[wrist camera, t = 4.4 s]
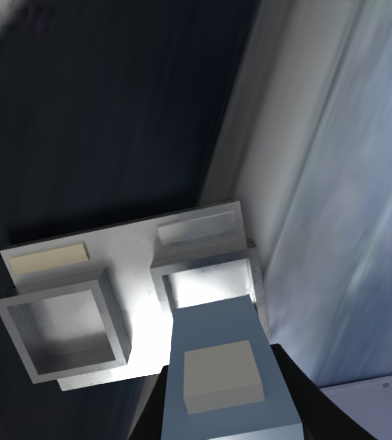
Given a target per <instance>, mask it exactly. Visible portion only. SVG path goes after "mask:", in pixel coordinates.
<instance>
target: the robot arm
mask: <svg viewBox="0 0 392 440" xmlns="http://www.w3.org/2000/svg"><path fill="white" fill-rule="evenodd" d="M270 347H271V349H272V351H273V354H274V356H275V359H276V361H277V364H278V366H279V368H280V371H281V373H282V376H283V378H284V381H285V383H286V385H287V388H288V390H289V393H290V395H291V398H292V400H293V402H294V405H295V407H296V410H297V412H298V414H299V417H300V419H301V422H302V427H303V435H304V440H392V375H391V376H386V377H381V378H375V379H370V380H364V381H359V382H354V383H348V384H343V385H337V386H332V387H327V388H321V389H319V388H318V387H317V386H316V385H315V384H314V383H313V382H312V381H311V380H310V379H309V378H308V377H307V376H306V375H305V374H304V373H303V372H302V370H301V369H300V368H299V367H298V366H297V365H296V364H295V363H294V361H293V360H292V359H291V358H290V357H289V355H288V354H287V353H286V352H285V350H284V349H283V348H282V346H281V345H280V344H272V345H270ZM168 365H169V364H167V365H163V367H162V368H161V371H160V374H159V376H158V379H157V381H156V383H155V386H154V388H153V390H152V393H151V395H150V397H149V399H148V401H147V403H146V406H145V408H144V410H143V412H142V414H141V416H140V418H139V420H138V422H137V424H136V426H135V427H134V429H133V431H132V433H131V435H130V437H129V439H128V440H161V435H162V425H163V415H164V405H165V395H166V385H167V375H168Z"/></svg>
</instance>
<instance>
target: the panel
mask: <svg viewBox="0 0 392 440" xmlns="http://www.w3.org/2000/svg"><path fill="white" fill-rule="evenodd" d="M0 252H1V255H2V257H3V259H4V261H5V264H6V266H7V268H8V270H9V273H10V275H11V277H12V279H13V282H14V284H15V286H14V287H10V288H9V289H8V290H6V291H5V292H4V293H3V294H1V295H0V316H1V318H2V320H3V322H4V324H5V326H6V328H7V330H8V332H9V334H10V336H11V338H12V340H13V343H14V345H15V347H16V349H17V351H18V353H19V355H20V357H21V359H22V361H23V363H24V365H25V367H26V370H27V372H28V374H29V376H30V378H31V380H32V382H33V384H34V383H40V382H45V381H50V380H55V379H57V380H58V382H59V385H60V387H61V389H62V391H65V390H70V389H75V388H81V387H86V386H91V385H96V384H102V383H107V382H112V381H117V380H123V379H128V378H133V377H138V376H144V375H149V374H154V373H159V372H160V371H161V368H162V367H163V365H167V364H169V355H170V345H171V335H172V326H173V316H174V309H177V308H182V307H187V306H193V305H198V304H203V303H208V302H213V301H218V300H223V299H228V298H234V297H239V296H244V295H249V296H250V298H251V300H252V303H253V305H254V308H255V310H256V313H257V315H258V317H259V320H260V322H261V325H262V327H263V330H264V332H265V334H266V337H267V339H269V338H271V333H270V327H269V320H268V313H267V307H266V300H265V294H264V287H263V281H262V274H261V268H260V261H259V255H258V248H257V246H256V244H255V243H254V242H253V240H252V239H251V238H250V239H246V237H245V231H244V224H243V218H242V212H241V206H240V201H239V200H238V199H237V198H235V199H230V200H225V201H221V202H216V203H211V204H206V205H201V206H197V207H192V208H187V209H182V210H178V211H173V212H168V213H163V214H158V215H154V216H149V217H144V218H139V219H134V220H130V221H125V222H120V223H115V224H111V225H106V226H101V227H96V228H91V229H87V230H82V231H77V232H72V233H67V234H63V235H58V236H53V237H48V238H44V239H39V240H34V241H29V242H24V243H20V244H15V245H10V246H8V247H6V248H4V249H3V250H1V251H0Z"/></svg>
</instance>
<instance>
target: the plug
mask: <svg viewBox="0 0 392 440" xmlns="http://www.w3.org/2000/svg"><path fill="white" fill-rule="evenodd" d="M161 440H304V435H303V427H302V422H301V419H300V417H299V414H298V412H297V410H296V407H295V405H294V402H293V400H292V398H291V395H290V393H289V390H288V388H287V385H286V383H285V381H284V378H283V376H282V373H281V371H280V368H279V366H278V364H277V361H276V359H275V356H274V354H273V351H272V349H271V347H270V344H269V342H268V339H267V337H266V334H265V332H264V330H263V327H262V325H261V322H260V320H259V317H258V315H257V313H256V310H255V308H254V305H253V303H252V300H251V298H250V296H249V295H244V296H239V297H234V298H228V299H223V300H218V301H213V302H208V303H203V304H198V305H193V306H187V307H182V308H177V309H174V316H173V326H172V335H171V345H170V355H169V365H168V375H167V385H166V395H165V405H164V415H163V425H162V435H161Z"/></svg>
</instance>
